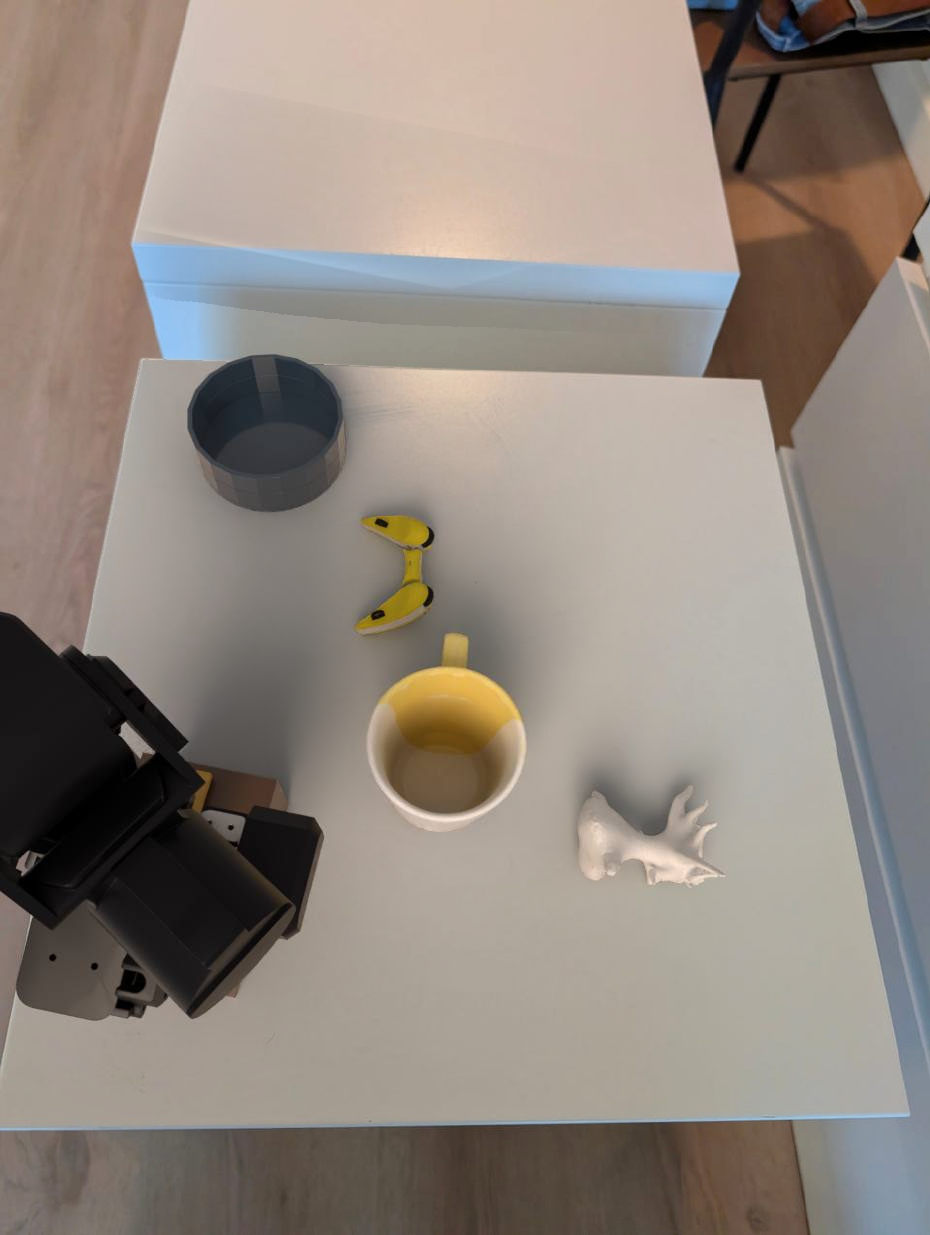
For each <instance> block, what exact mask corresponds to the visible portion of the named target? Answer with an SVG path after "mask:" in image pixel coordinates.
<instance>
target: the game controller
mask: <svg viewBox="0 0 930 1235" xmlns="http://www.w3.org/2000/svg"><path fill="white" fill-rule="evenodd" d="M359 523H360V524H361V525H362V526H363V527H364V529H365V530H367V531H369V532H370V533H373V534H376V535H379V536H380V537H382V538H385V539H387V540H388V541H390V542H392V543H394V544H396V545H398V546H400V547H402V552H403V557H404V563H405V564H404V565H405V566H404V568H405V569H404V574H403V580H402V582H401V588H400V589H399V590H397V591H396V593H395V594H393V595H392V596H391V597H389V598H388V599H387V600H386V602H383V603H382V604H381V605H380V606H378V607H377V608H376V609H375V610H373V611H372V612H371V613H370V614H369V615H367V616H366V617H365V618H363V619H361V620H359V622H358V623H356V624H355V626H354V630H355V631H356V632H357V633H358V634H359V635H363V636H365V635H372V634H374V635H375V634H378V633H379V634H380V633H384V632H388V631H392V630H394V629H398V628H400V627H403V626H406V625H408V624H410V623H412V622H414V621H416V620H417V619H419V618H421V617H422V616H423V615H426V614H427V612H428V611H429V610H430V609H431V606H432V604H433V601H434V598H435V592H434V590H433V588H432V587H431V586H429V585H428V584H424V583H423V574H422V567H423V552H428V551H429V550H430V549H431V548H432V546H434V540H435V536H436V535H435V531H434V530H433V529H432V528H431V527H430V526H428V525H426V524H425V523H424V522H423V521H422V520H419V519H417V518H414V517H411V516H406V515H376V516H370V517H365V518H362V519H361V520H359Z"/></svg>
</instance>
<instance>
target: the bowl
mask: <svg viewBox="0 0 930 1235" xmlns="http://www.w3.org/2000/svg"><path fill="white" fill-rule="evenodd" d="M186 413H187V415H186V416H187V420H186V421H187V422H186V424H187V425H186V427H187V432H188V435H189V438H190V442H191V443H192V447H193V450H194V453H195V456H196V459H197V462H198V464H199V467H200V469H201V472H202V474H203V476H204V478H205V480H206V482H207V483H208V485H209V486H210V487H211V489H213V491H214V492H216V493H217V495H219V496H220V497H221V498H223V499H224V500H226V501H227V502H229V503H231V504H233V505H235V506H237V507H241V508H243V509H247V510H251V511H257V512H263V513H264V512H265V513H266V512H267V513H268V512H269V513H273V512H274V513H275V512H284V511H289V510H294V509H297V508H300V507H302V506H304V505H307V504H309V503H311V502H312V501H314V500H316V499H318V498H319V497H321V496H322V495H323V494H324V493H325V492H327V491H328V490H329V488H331V486H332V485H333V484H334V483H335V481H336V480H337V479H338V477H339V475H340V474H341V472H342V469H343V466H344V464H345V458H346V450H347V449H346V437H345V436H346V435H345V424H344V412H343V401H342V399H341V396H340V394H339V392H338V390H337V388H336V387H335V385H334V382H332V381H331V379H329V378H328V376H326V375H325V374H324V373H323V372H322V371H321V370H320V369H319V368H318V367H316V366H314V365H312V364H310V363H308V362H306V361H303V360H302V359H299V358H297V357H292V356H287V355H282V354H276V353H269V354H268V353H267V354H251V355H247V356H245V357H241V358H237V359H234V360H231V361H229V362H227V363H225V364H223V365H221V366H220V367H218V368H217V369H215V370H213V371H212V372H209V374H208V375H207V376H206V377H205V378H204V379H203V380H202V381H201V383H200V384H199V385H198V386H197V387H196V388H195V389H194V391H193V393H192V397H191V399H190V402H189V404H188V406H187V410H186Z"/></svg>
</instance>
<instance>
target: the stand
mask: <svg viewBox="0 0 930 1235" xmlns="http://www.w3.org/2000/svg"><path fill="white" fill-rule="evenodd" d="M153 754H154V753H148V752H142V754H141V756H140V759H141V760H142V761H143V762H145V761H146V760H147V759H149V758H150V757H151V756H152V755H153ZM186 761H187V760H186ZM187 762H188V763H189V764H190V765H191V766H192V768H193V769H194V770H195V771H196V770H199V771H203V772H208V773H211V775H212V779H211V782H210V786H209V789H208V792H207V795H206V798H205V801H204V804H203V808H202V811H201V813H203V810H204V807H205V805H208V806H213V807H218V808H223V809H228V810H232V811H237V812H242V813H246V814H249V812H250V811H251V809H252V807H253V806H254V805H257V806H262V807H267V808H272V809H276V810H281V811H286V812H288V810H289V804H288V801H287V799H286V797H285V795H284V792H283V790H282V788H281V785H280V783H279V781H278V779H276V778H271V777H265V776H261V775H255V774H251V773H246V772H241V771H236V770H231V769H227V768H222V767H217V766H211V765H206V764H202V763H197V762H192V761H187ZM239 987H240V983H239V984H238V985H237V986H236V987H235V988H234V989H233V990H232V991H231V992H230V993H229V994H227V995H226V996H225V997H231V998H236V997H237V994H238V990H239Z"/></svg>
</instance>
